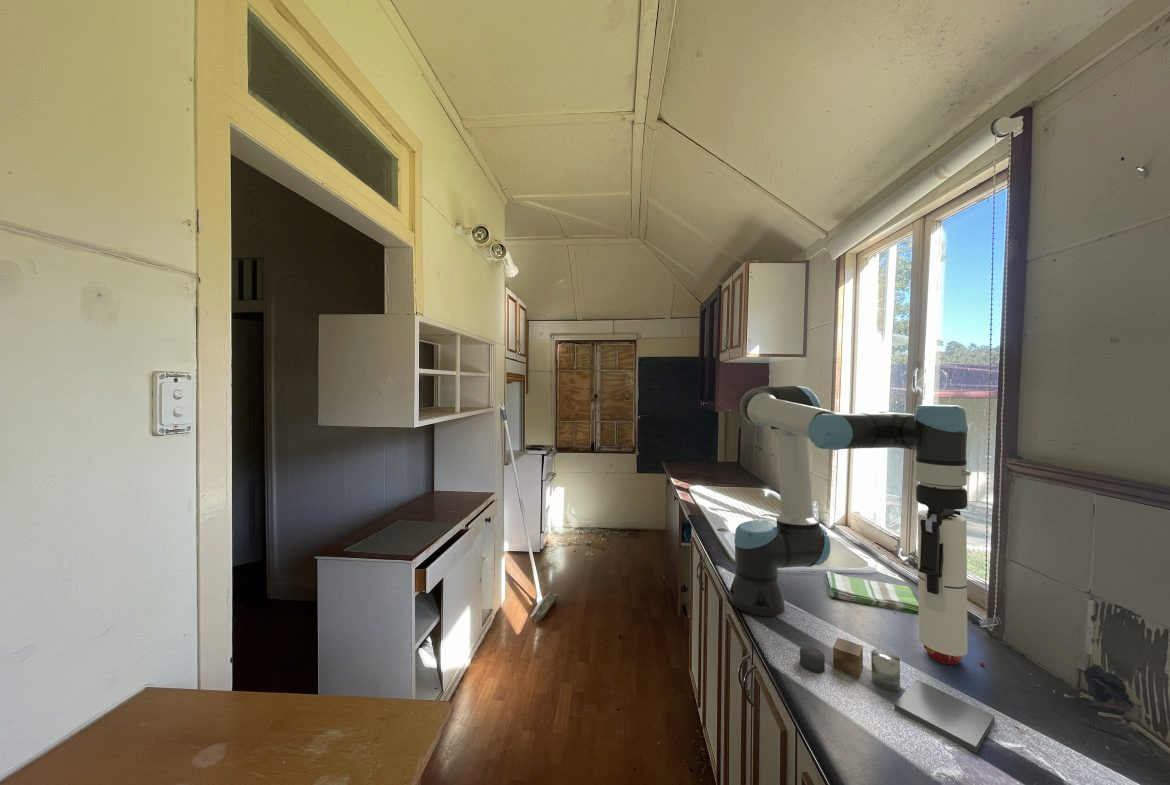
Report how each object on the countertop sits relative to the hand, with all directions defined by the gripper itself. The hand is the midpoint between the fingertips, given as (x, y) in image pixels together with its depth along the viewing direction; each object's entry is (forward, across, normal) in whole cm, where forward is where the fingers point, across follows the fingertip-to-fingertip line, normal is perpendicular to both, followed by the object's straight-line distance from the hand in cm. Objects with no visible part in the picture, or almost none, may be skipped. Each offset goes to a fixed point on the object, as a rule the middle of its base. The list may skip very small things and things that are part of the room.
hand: (941, 602), depth 80 cm
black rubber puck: (+22, -6, +22) cm, 32 cm away
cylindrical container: (+8, 0, 0) cm, 8 cm away
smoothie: (+22, +22, +6) cm, 32 cm away
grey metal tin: (+22, +1, +10) cm, 24 cm away
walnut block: (+22, 0, +17) cm, 28 cm away
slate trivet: (+22, 0, 0) cm, 22 cm away
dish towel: (+23, +43, +29) cm, 57 cm away
